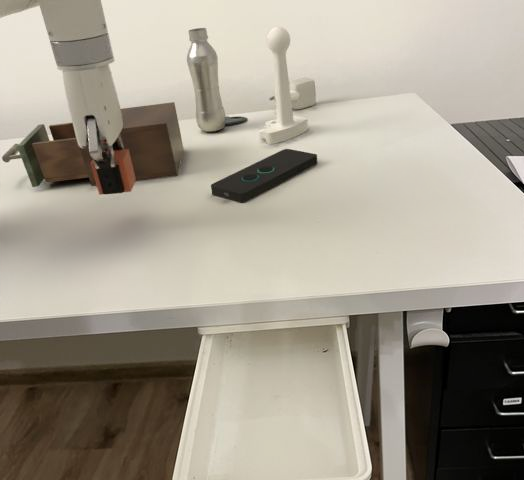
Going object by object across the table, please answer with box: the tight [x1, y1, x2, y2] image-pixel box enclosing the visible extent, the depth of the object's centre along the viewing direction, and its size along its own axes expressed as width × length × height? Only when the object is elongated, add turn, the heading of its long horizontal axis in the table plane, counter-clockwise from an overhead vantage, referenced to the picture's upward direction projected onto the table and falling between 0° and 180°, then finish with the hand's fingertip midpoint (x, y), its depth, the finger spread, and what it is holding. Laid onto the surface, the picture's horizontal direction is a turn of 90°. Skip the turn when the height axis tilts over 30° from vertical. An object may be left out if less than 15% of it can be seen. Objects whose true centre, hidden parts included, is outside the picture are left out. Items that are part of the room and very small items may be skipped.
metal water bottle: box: [186, 27, 227, 132], centre depth 118 cm, size 6×7×20 cm
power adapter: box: [268, 77, 317, 110], centre depth 129 cm, size 11×5×6 cm, turn 122°
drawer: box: [1, 122, 89, 188], centre depth 108 cm, size 21×13×8 cm, turn 92°
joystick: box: [258, 26, 309, 145], centre depth 110 cm, size 11×8×20 cm
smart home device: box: [210, 148, 318, 203], centre depth 97 cm, size 8×2×20 cm
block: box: [91, 149, 136, 195], centre depth 82 cm, size 5×5×5 cm
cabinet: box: [79, 101, 185, 187], centre depth 107 cm, size 17×15×10 cm
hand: (117, 184), depth 83 cm, fingers closed on block, 4 cm apart
